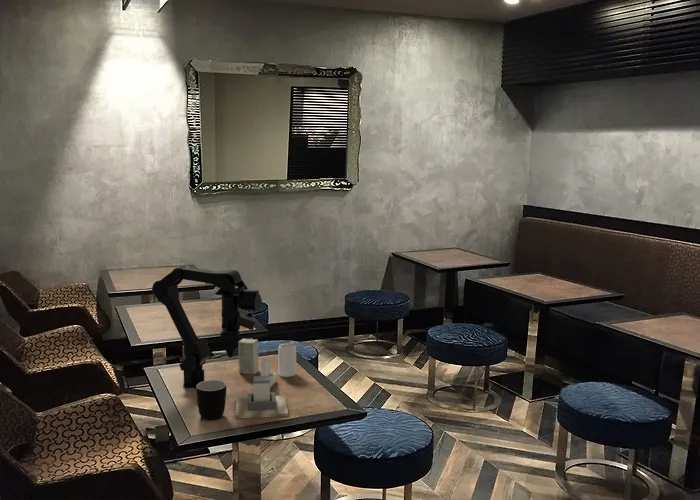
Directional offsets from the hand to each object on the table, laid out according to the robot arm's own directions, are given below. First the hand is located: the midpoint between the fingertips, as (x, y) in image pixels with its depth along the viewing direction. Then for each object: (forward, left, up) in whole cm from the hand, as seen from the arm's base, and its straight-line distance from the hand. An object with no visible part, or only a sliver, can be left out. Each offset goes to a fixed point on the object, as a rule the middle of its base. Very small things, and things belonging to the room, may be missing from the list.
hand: (230, 352), depth 211 cm
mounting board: (+10, -17, -13) cm, 24 cm away
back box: (+10, -17, -13) cm, 24 cm away
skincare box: (+6, +16, -13) cm, 22 cm away
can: (+20, +12, -13) cm, 27 cm away
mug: (-6, -20, -13) cm, 25 cm away
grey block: (+10, -17, -12) cm, 23 cm away
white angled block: (+13, +4, -13) cm, 19 cm away
